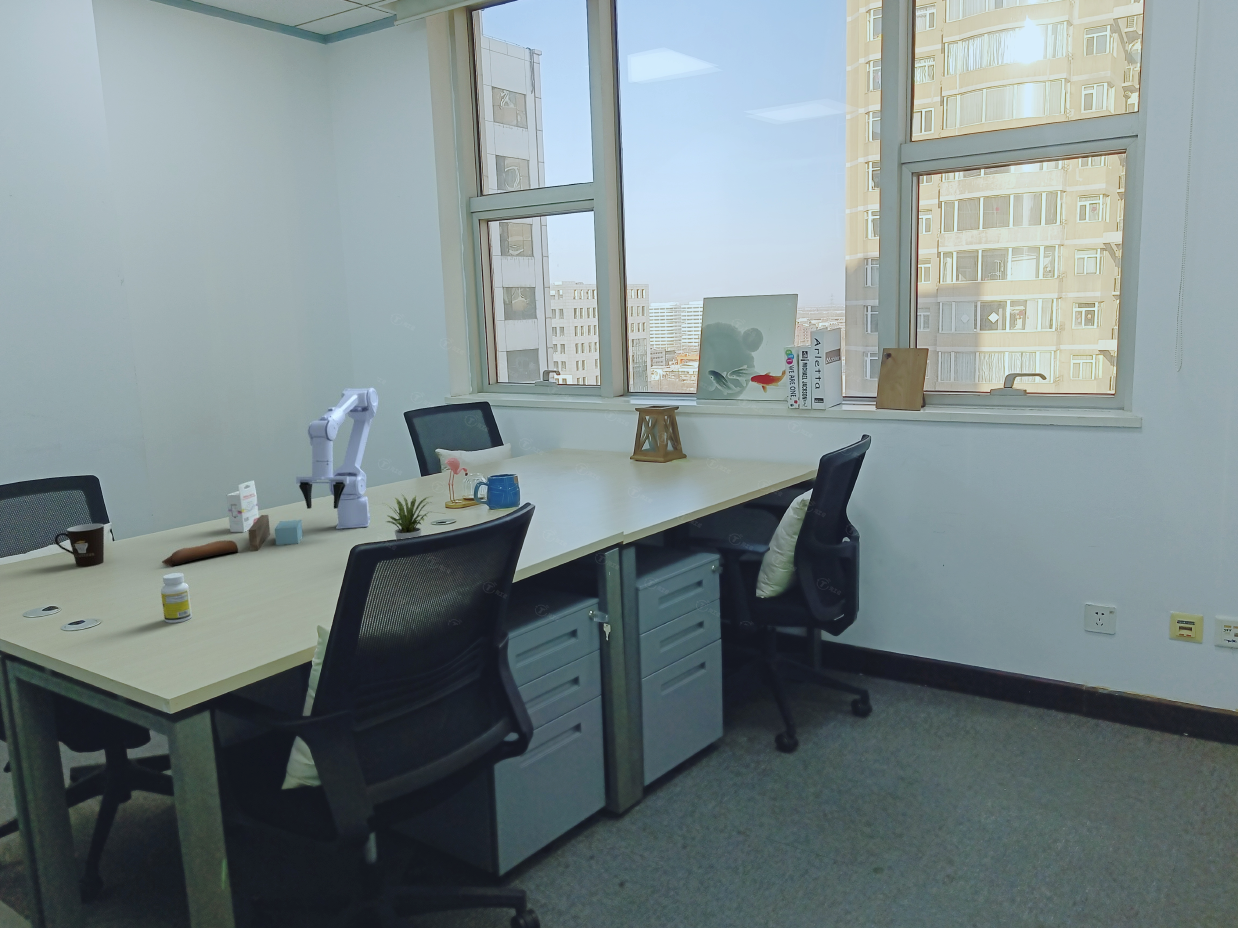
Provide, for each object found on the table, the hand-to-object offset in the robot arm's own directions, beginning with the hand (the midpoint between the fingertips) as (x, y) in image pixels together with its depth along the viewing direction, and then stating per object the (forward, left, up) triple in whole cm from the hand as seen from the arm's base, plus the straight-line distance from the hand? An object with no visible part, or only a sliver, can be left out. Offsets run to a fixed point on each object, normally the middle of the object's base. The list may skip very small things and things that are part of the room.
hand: (322, 508), depth 268 cm
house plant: (-26, +26, -9) cm, 38 cm away
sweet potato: (+31, +13, -10) cm, 35 cm away
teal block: (+10, 0, -9) cm, 13 cm away
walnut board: (+18, 0, -9) cm, 20 cm away
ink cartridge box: (+26, -20, -9) cm, 34 cm away
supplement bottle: (+23, +69, -9) cm, 73 cm away
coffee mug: (+61, +10, -9) cm, 62 cm away
